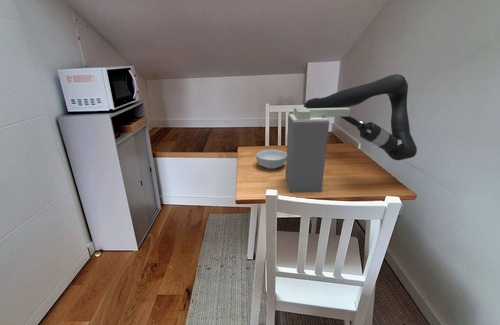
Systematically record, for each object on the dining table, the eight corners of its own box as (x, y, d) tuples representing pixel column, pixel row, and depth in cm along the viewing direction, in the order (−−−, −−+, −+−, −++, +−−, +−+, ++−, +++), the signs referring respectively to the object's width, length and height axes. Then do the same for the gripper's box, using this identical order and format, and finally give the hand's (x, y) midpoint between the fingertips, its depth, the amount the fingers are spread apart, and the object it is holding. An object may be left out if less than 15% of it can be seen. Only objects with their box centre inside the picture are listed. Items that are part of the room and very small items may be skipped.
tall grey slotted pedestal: (313, 177, 120) (319, 112, 108) (321, 191, 107) (329, 119, 95) (285, 178, 120) (288, 113, 108) (290, 192, 107) (293, 120, 95)
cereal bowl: (291, 163, 137) (291, 151, 135) (279, 174, 124) (279, 162, 121) (264, 158, 145) (264, 147, 143) (250, 168, 132) (250, 156, 130)
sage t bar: (343, 113, 106) (344, 106, 104) (352, 118, 96) (353, 110, 95) (293, 114, 106) (293, 107, 105) (297, 119, 97) (298, 112, 95)
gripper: (372, 122, 110) (343, 105, 106) (389, 131, 97) (357, 112, 93) (361, 136, 112) (333, 120, 109) (376, 147, 99) (345, 128, 96)
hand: (344, 116), depth 101 cm, fingers open, 8 cm apart
